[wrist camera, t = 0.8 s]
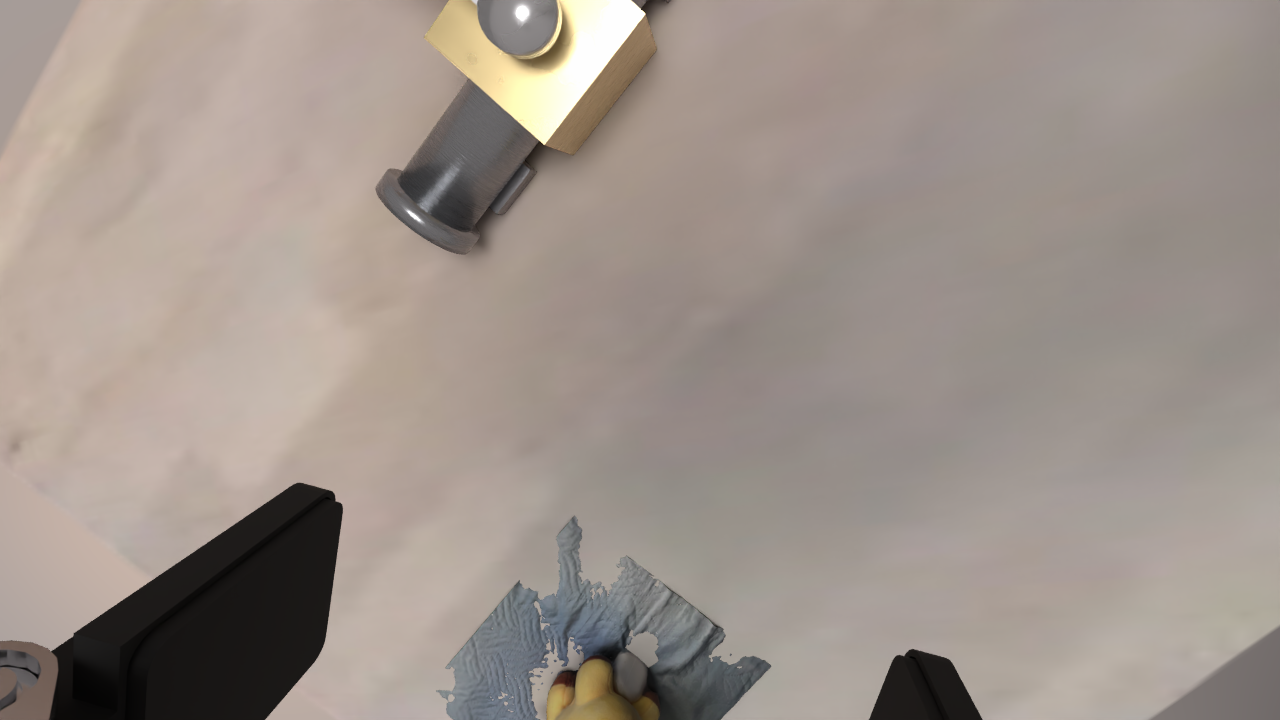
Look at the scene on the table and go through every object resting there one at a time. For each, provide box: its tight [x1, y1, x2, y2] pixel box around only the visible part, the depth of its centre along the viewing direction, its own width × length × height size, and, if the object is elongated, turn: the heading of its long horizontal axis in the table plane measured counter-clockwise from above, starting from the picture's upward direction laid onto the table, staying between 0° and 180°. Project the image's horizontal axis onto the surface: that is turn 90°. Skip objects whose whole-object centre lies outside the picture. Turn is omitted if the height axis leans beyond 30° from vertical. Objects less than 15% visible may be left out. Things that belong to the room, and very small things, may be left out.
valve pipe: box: [376, 0, 670, 254], centre depth 31 cm, size 22×7×8 cm, turn 139°
